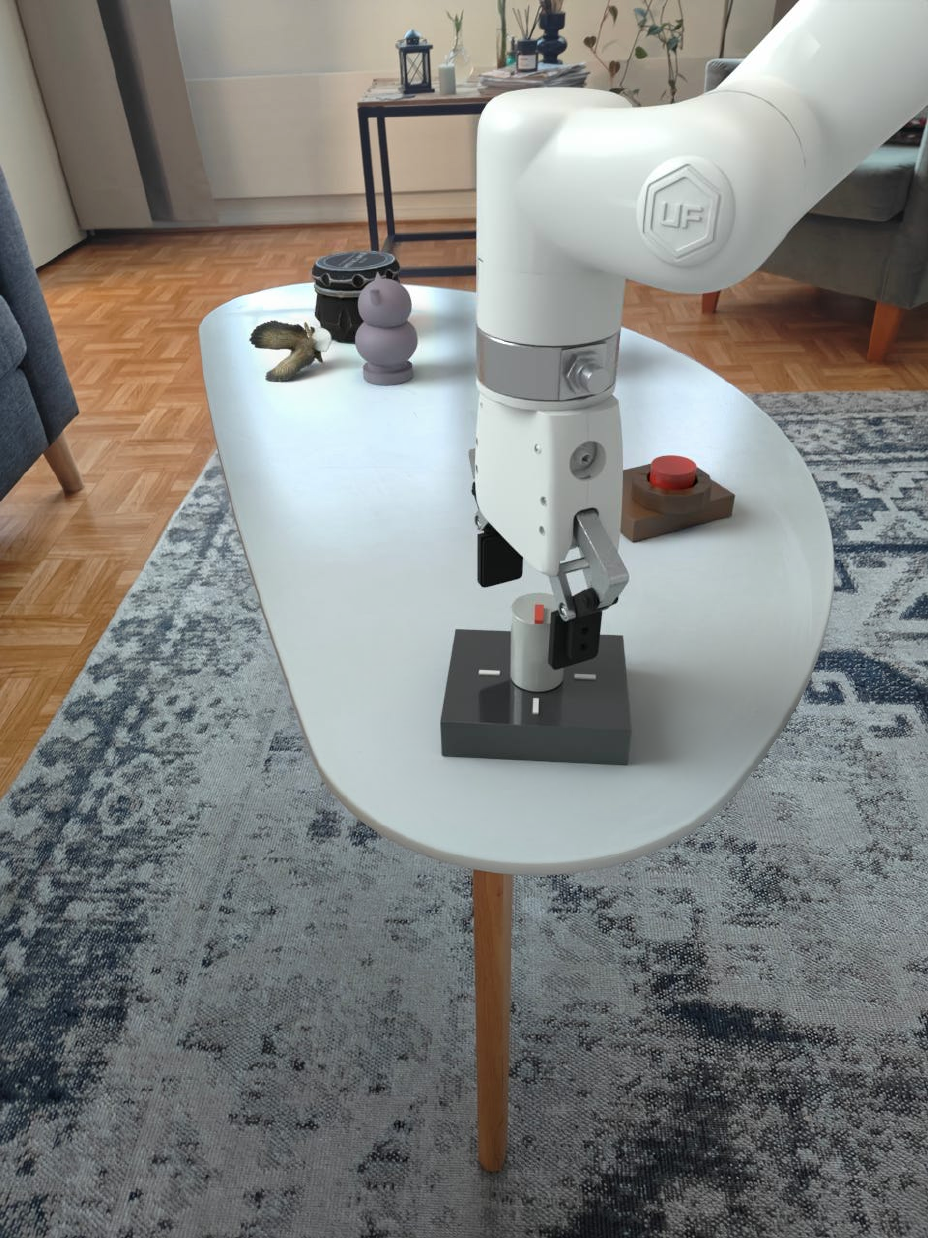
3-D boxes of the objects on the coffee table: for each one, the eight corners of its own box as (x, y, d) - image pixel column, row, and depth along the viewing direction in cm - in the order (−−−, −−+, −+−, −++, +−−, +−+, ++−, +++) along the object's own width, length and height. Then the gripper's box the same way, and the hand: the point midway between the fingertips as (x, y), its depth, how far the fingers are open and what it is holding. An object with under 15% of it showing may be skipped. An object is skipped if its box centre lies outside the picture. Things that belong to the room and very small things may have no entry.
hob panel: (619, 668, 66) (623, 633, 64) (627, 765, 58) (632, 728, 56) (456, 661, 67) (455, 626, 65) (441, 756, 59) (439, 719, 57)
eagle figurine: (294, 344, 122) (240, 349, 116) (314, 303, 118) (259, 307, 111) (325, 386, 121) (272, 393, 114) (347, 346, 116) (292, 351, 110)
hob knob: (511, 657, 62) (512, 587, 59) (563, 659, 62) (568, 589, 58) (508, 691, 59) (509, 619, 56) (563, 693, 59) (568, 621, 55)
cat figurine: (417, 388, 112) (412, 289, 105) (354, 389, 112) (345, 289, 105) (421, 364, 119) (417, 269, 112) (362, 364, 119) (354, 270, 112)
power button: (676, 468, 84) (679, 451, 83) (703, 486, 81) (705, 468, 80) (640, 477, 83) (642, 460, 82) (666, 495, 80) (668, 478, 79)
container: (314, 321, 135) (306, 251, 129) (400, 314, 136) (395, 245, 131) (319, 349, 124) (310, 274, 119) (411, 341, 126) (407, 267, 120)
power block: (674, 476, 91) (679, 439, 88) (738, 520, 83) (745, 480, 81) (580, 500, 87) (582, 462, 85) (638, 547, 79) (642, 507, 77)
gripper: (704, 403, 43) (660, 681, 53) (531, 305, 55) (522, 543, 65) (567, 431, 40) (548, 717, 50) (419, 321, 53) (428, 567, 63)
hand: (534, 619), depth 58 cm, fingers open, 9 cm apart
